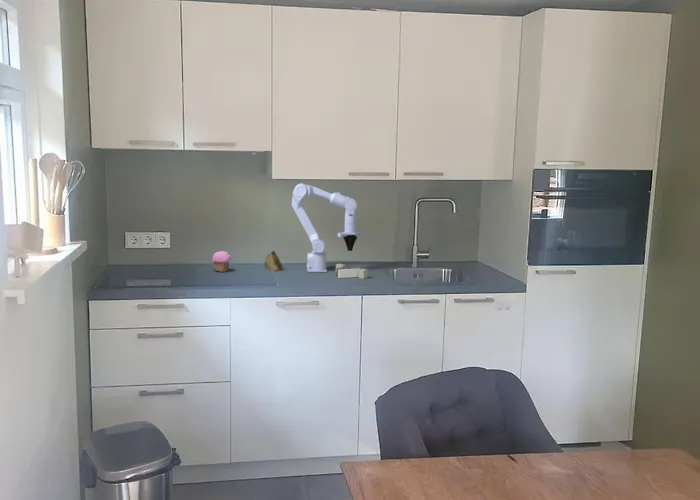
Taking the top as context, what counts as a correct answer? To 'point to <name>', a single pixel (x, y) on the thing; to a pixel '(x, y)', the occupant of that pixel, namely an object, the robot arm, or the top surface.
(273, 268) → the rock
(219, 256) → the cupcake
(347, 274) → the door
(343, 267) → the block
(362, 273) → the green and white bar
